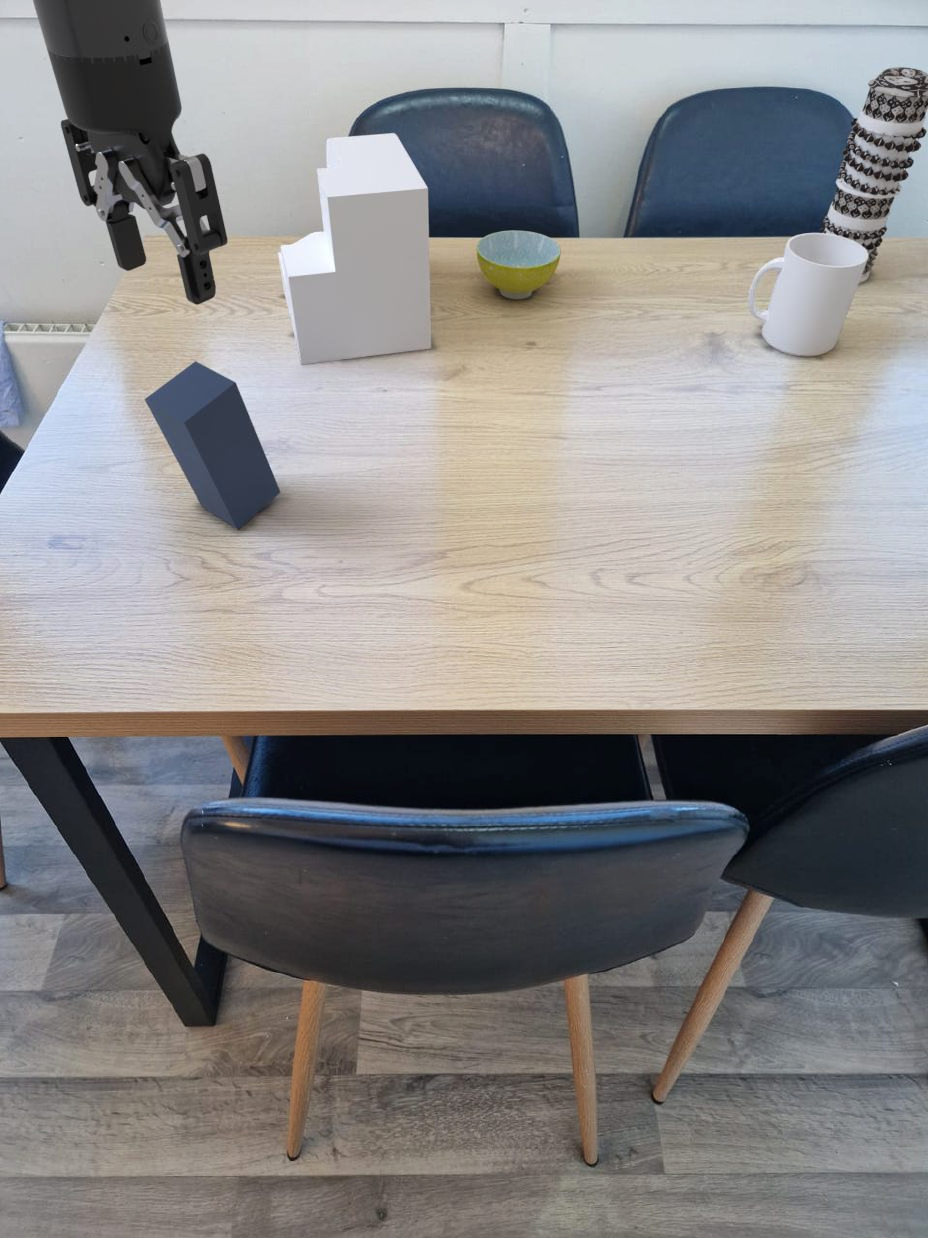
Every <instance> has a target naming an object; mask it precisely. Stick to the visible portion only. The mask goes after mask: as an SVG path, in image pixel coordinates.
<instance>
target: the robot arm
mask: <svg viewBox="0 0 928 1238" xmlns="http://www.w3.org/2000/svg"><path fill="white" fill-rule="evenodd" d="M32 2H33V6H34V10H35V13H36V16H37V20H38V23H39V27H40V31H41V34H42V38H43V41H44V44H45V47H46V50H47V54H48V57H49V61H50V64H51V67H52V71H53V74H54V78H55V82H56V84H57V88H58V92H59V95H60V99H61V102H62V106H63V108H64V112H65V115H66V117H67V118H66V119H62V120H61V121H60V128H61V131H62V135H63V139H64V143H65V146H66V150H67V154H68V158H69V161H70V164H71V167H72V172H73V176H74V179H75V183H76V187H77V190H78V194H79V197H80V200H81V202H82V203H83V205H85V206H86V207H91V206H93V207H94V208H95V211H96V213H97V216H98V218H99V219H100V220H101V221H102V222H105V224H106V228H107V231H108V236H109V239H110V242H111V245H112V249H113V252H114V256H115V260H116V264H117V266H118V267H119V268H120V269H122V270H123V271H127V272H129V271H132V270H135V269H138V268H140V267H143V266H144V265H146V262H147V256H146V252H145V248H144V244H143V240H142V236H141V233H140V229H139V225H138V221H137V217H136V216H135V215H133V214H131V213H132V212H134V207H135V204H136V205H137V206H139V207H140V208H142V209H143V210H145V211H146V213H147V214H148V216H149V218H150V219H151V221H152V223H153V225H154V226H155V227H156V228H159V229H162V230H164V231H165V232H166V234H167V237H168V238H169V240H170V242H171V243H172V245H173V246H174V248H175V250H176V252H177V253H178V254H176V258H177V262H178V266H179V272H180V275H181V280H182V283H183V288H184V292H185V297H186V299H187V301H188V302H190V303H192V304H194V305H197V306H198V305H201V304H204V303H205V302H208V301H209V300H212V299H213V298H214V297H215V296H216V289H217V285H216V281H215V277H214V276H215V275H214V271H213V267H212V266H213V265H212V262H211V258H210V257H211V256H210V252H211V251H213V250H215V249H219V248H221V247H223V246H226V245H227V244H228V241H229V240H228V235H227V231H226V226H225V222H224V218H223V213H222V208H221V203H220V199H219V195H218V190H217V189H218V188H217V185H216V181H215V176H214V172H213V168H212V167H213V166H212V163H211V160H210V158H209V157H208V156H207V154H205V153H203V152H202V153H199V154H195V155H191V156H188V155H184V154H181V152H180V150H179V147H178V145H177V143H176V141H175V138H174V135H173V128H174V124H175V123H176V121H177V120H178V119H179V118H180V116H181V113H182V110H183V109H182V102H181V101H182V100H181V96H180V92H179V87H178V81H177V76H176V71H175V65H174V62H173V61H174V60H173V57H172V52H171V46H170V42H169V38H168V32H167V27H166V22H165V18H164V12H163V8H162V3H161V0H32ZM93 171H96V173H95V179H94V184H93V185H92V184H91V180H90V173H91V172H93ZM175 197H177V201H178V204H176V205H173V206H171V207H164V206H167V205H170V204H172V203H173V201H174V199H175ZM205 216H206V220H207V223H208V227H207V226H206V224H205V222H204V221H203V219H202V218H203V217H205ZM180 221H183V225H184V229H185V232H186V235H185V234H184V232H183V231H182V229H181V227H180V225H179V223H178V222H180Z"/></svg>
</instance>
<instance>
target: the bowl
mask: <svg viewBox="0 0 928 1238" xmlns="http://www.w3.org/2000/svg"><path fill="white" fill-rule="evenodd" d="M561 254H562V249H561V246H560V245H559V243H558V242H557V241H555V239H553V238H551V237H550V236H547V235H545V234H542V233H538V232H534V231H527V230H502V231H498V232H497V231H496V232H492V233H490V234H488V235H485V236H484V237H482V238H481V239H480V240H478V242H477V244H476V258H477V262H478V265H479V268H480V270H481V273H482V274H483V277H484V278H485V279H486V280H487V282H489V284H491V285H492V286H493V287H495V288H497V289H499V294H500V295H501V296H503V297H504V298H507V299H511V300H523V299H527V298H529V297H531V295H532V294H533V291H535V290H538V289H539V288H542V286H544V285H546V283H547V282H549V280H550V279H551V278H552V277H553V275H554V273H555V272H556V270H557V268H558V265H559V263H560V260H561Z"/></svg>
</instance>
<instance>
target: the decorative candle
mask: <svg viewBox="0 0 928 1238" xmlns="http://www.w3.org/2000/svg"><path fill="white" fill-rule="evenodd" d="M867 85H868V87H869V89H868V93H867V95H866V99H865V102H864V106H863V107H862V109H861V110H860V113H859V115H858V118H857V117H855V118H853V119H852V120H851V121H850V125H851V130H852V131H851V132H849V133H848V137H846V141H845V142H846V143H847V144H846V146H845V148H844V149H843V150H842V155H843V161H841V163H840V166H839V167H838V172H839V173H838V176H837V177H836V180H835V184H836V185H837V188H836V192H835V195H834V198H833V201H832V202H831V204H830V206H829V209H828V212H827V214H826V215H825V217H823V219H822V222H823V226H822V227H821V228H820V230H819V233H826V234H832V235H837V236H841V237H845V238H848V239H850V240H853V241H855V242H857V243H858V244H860V245H862V246H863V247H864V248H865V249H866V250H867V252H868V260H867V262H866V265H865V268H864V270H863V273H862V276H861V278H860V281H859V284H862V283H863V282H865V281H867V280H868V279H869V276H870V272H871V271H872V267H874V266H875V263H874V261H876V257H877V256H878V255H879V252H878V247H880V246H881V244H882V243H883V238H882V237H883V236H884V235H885V234H886V232H887V230H888V228H887V223H888V219H889V216H890V215H891V211H890V210H891V208H892V206H893V202H894V199H895V197H897V196H898V195H900V194H901V191H902V188H903V187H902V185H901V182H902V181H905V180H907V179H908V178H909V175H910V174H909V172H907V169H909V168H911V167H913V164H914V163H915V160H914V159H913V158H912V156H910V154H911V153H914V152H917V151H919V150H920V149H921V148H922V144H921V143H920V142H919V140H920V139H922V138H924V137H926V134H927V129H926V128H925V127H924V123H925V121H926V118H927V117H926V114H927V111H928V73H927V72H926V71H923V70H921V69H918V68H911V67H904V66H903V67H901V66H900V67H899V66H897V67H889V68H886V69H884V70H882V71H881V72H880V73H879V74H878V75H877V76H876V78H874V79H871V80H869V82H868V84H867Z"/></svg>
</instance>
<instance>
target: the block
mask: <svg viewBox="0 0 928 1238" xmlns="http://www.w3.org/2000/svg"><path fill="white" fill-rule="evenodd" d="M325 158H326V159H325V160H326V161H325V162H326V167H321V168H316V174H317V175H316V176H317V182H318V193H319V201H320V208H321V209H320V210H321V211H320V212H321V218H322V227H323V228H322V229H323V231H314V232H313V231H312V232H311V233H309V234H307V235H305V236H304V237H302V238H300V239H299V240H297V241H295V242H294V243H292V244H281V245H280V244H279V245H280V251H278V252H277V255H278V256H277V257H278V263H279V269H280V275H281V282H282V288H283V289H282V290H283V293H284V297H285V298H284V299H285V302H286V306H287V311H288V314H289V320H290V323H291V327H292V332H293V335H294V340H295V344H296V347H297V352H298V356H299V359H300V365H310V364H318V363H325V362H333V361H341V360H342V361H343V360H349V359H357V358H358V359H359V358H365V357H373V356H381V355H390V354H397V353H398V354H399V353H405V352H414V351H421V350H430V349H432V322H431V321H432V320H431V319H432V318H431V314H432V313H431V273H430V271H431V270H430V267H431V266H430V223H429V221H430V220H429V187H428V186H427V183H426V182H425V181H424V179H423V177H422V175H421V174H420V172H419V170H418V169H417V167H416V166H415V164H414V162H413V161H412V158H411V157H410V155H409V153H408V152H407V150H406V148H405V146H404V144H403V143H402V142H401V140H400V138H399V136H398V135H397V134H396V133H395V132H391V133H378V134H377V133H376V134H364V135H352V136H338V137H328V138H327V139H326V144H325Z"/></svg>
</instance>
